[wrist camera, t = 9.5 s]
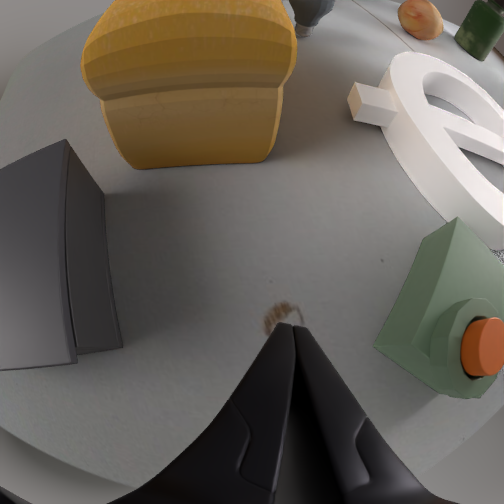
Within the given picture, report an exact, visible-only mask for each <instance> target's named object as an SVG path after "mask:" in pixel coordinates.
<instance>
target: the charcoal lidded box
mask: <svg viewBox="0 0 504 504" xmlns="http://www.w3.org/2000/svg"><path fill="white" fill-rule="evenodd" d="M64 239H65V268H66V282H67V294H68V303H69V312H70V319H71V326H72V332H73V338H74V344H75V350H76V355H82V354H88V353H95V352H101V351H107V350H112V349H118V348H123V344H122V340H121V335H120V330H119V325H118V320H117V315H116V309H115V303H114V297H113V290H112V283H111V276H110V268H109V259H108V250H107V239H106V226H105V209H104V193H103V192H102V191H101V189H100V188H99V186H98V185H97V184H96V182H95V181H94V179H93V178H92V176H91V175H90V174H89V172H88V171H87V169H86V168H85V166H84V165H83V163H82V162H81V160H80V159H79V158H78V156H77V155H76V153H75V152H74V150H73V148H72V147H71V146H70V151H69V160H68V169H67V180H66V195H65V223H64Z"/></svg>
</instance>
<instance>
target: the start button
mask: <svg viewBox="0 0 504 504" xmlns="http://www.w3.org/2000/svg"><path fill="white" fill-rule="evenodd" d="M460 358H461V363H462V366H463V368H464V370H465V371H466V372H467V373H468V374H469V375H472V376H491V375H494V374H496V373H497V372H499V370H500V369H501V368H502V366H503V364H504V323H503V322H502V320H501V319H499V318H497V317H492V318H488V319H483V320H478V321H475V322H473V323H471V324H470V325H469V326H468V327H467V329H466V330H465V332H464V335H463V338H462V341H461V349H460Z"/></svg>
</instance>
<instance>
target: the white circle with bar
mask: <svg viewBox="0 0 504 504" xmlns="http://www.w3.org/2000/svg"><path fill="white" fill-rule="evenodd" d="M425 94H428V95H432V96H436V97H439V98H441V99H443V100H445V101H447V102H449V103H451V104H452V105H454V106H455V107H457V108H458V109H460V110H461V111H462V112H463V113H465V114H466V115H467V116H468V117H469V118H470V119H471V120H472V121H473V122H474V123H473V122H471V121H469V120H466V119H464V118H462V117H460V116H457V115H455V114H453V113H450V112H448V111H445V110H443V109H440V108H438V107H435V106H433V105H430V104H429V103H428V101H427V99H426V96H425ZM347 100H348V103H349V107H350V110H351V113H352V117H353V120H354V121H359V122H364V123H369V124H374V125H378V126H380V127H381V130H382V132H383V134H384V136H385V139H386V141H387V143H388V145H389V146H390V148H391V150H392V152H393V154H394V155H395V157H396V159H397V160H398V162H399V163H400V165H401V166H402V168H403V170H404V171H405V172H406V174H407V175H408V177H409V178H410V179H411V181H412V182H413V183H414V185H415V186H416V187H417V189H418V190H419V191H420V193H421V194H422V195H423V196H424V197H425V199H426V200H427V201H428V202H429V203H430V204H431V205H432V207H433V208H434V209H435V210H436V211H437V212H438V213H439V214H440V215H441V216H442V217H443V218H444V219H445V220H446V221H447V222H450V221H451V220H453V219H454V218H456V217H457V216H458V217H459V218H460V219H461V220H462V221H463V222H464V223H465V224H466V225H467V226H468V227H469V228H470V229H471V230H472V231H473V232H474V233H475V234H476V235H477V236H478V237H479V238H480V239H481V240H482V241H483V242H484V244H485V245H486V246H487V247H488V248H489V249H491V250H504V193H502V192H501V191H500V190H498V189H497V188H496V187H495V186H493V185H492V184H491V183H490V182H489V181H488V180H487V179H486V178H485V177H484V176H483V175H482V174H481V173H480V172H479V171H478V170H477V169H476V168H475V167H474V166H473V164H472V163H471V162H470V161H469V160H468V159H467V158H466V156H465V155H464V154H463V153H462V152H461V150H460V149H459V148H458V147H460V148H463V149H465V150H468V151H471V152H473V153H476V154H478V155H481V156H483V157H486V158H488V159H491V160H493V161H495V162H497V163H500V164H502V165H503V168H504V110H503V109H502V108H501V107H500V106H499V104H498V103H497V102H496V101H495V100H494V99H493V98H492V97H491V96H490V95H489V94H488V93H487V92H486V91H485V90H484V89H483V88H482V87H481V86H479V85H478V84H477V83H476V82H475V81H473V80H472V79H471V78H470V77H468V76H467V75H465V74H464V73H463V72H461V71H460V70H458V69H456V68H455V67H453V66H451V65H450V64H448V63H446V62H444V61H442V60H440V59H438V58H435V57H432V56H430V55H427V54H423V53H418V52H402V53H399V54H397V55H396V56H394V58H393V59H392V61H391V63H390V64H389V66H388V68H387V70H386V72H385V74H384V76H383V78H382V80H381V82H380V83H379V85H378V87H373V86H369V85H365V84H361V83H357V82H354V85H353V87H352V89H351V91H350V93H349V96H348V98H347Z"/></svg>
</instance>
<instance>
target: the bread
mask: <svg viewBox="0 0 504 504" xmlns="http://www.w3.org/2000/svg"><path fill="white" fill-rule="evenodd" d="M296 59H297V40H296V35H295V30H294V27H293V25H292V23H291V21H290V18H289V16H288V14H287V12H286V10H285V8H284V6H283V4H282V2H281V0H115V1H114V2H113V3H112V4H111V5H110V7H109V8H108V9H107V10H106V11H105V13H104V14H103V15H102V17H101V18H100V20H99V21H98V23H97V24H96V26H95V27H94V29H93V30H92V32H91V34H90V35H89V37H88V39H87V41H86V44H85V46H84V49H83V53H82V58H81V65H80V66H81V72H82V76H83V80H84V82H85V83H86V85H87V87H88V89H89V90H90V91H91V92H92V93H93V94H94V95H95V96H97V97H98V98H99V99H100V104H101V111H102V114H103V117H104V120H105V123H106V125H107V128H108V131H109V133H110V135H111V138H112V140H113V142H114V144H115V146H116V148H117V150H118V152H119V153H120V155H121V156H122V157H123V158H124V159H125V160H126V161H127V162H128V163H129V164H130V165H131V166H132V167H133V168H135V169H150V168H161V167H174V166H188V165H205V164H230V163H258V162H261V161H264V159H265V158H266V157H267V156H268V154H269V153H270V152H271V150H272V148H273V146H274V143H275V139H276V136H277V131H278V127H279V122H280V116H281V110H282V102H283V85H284V84H285V82H286V81H287V80H288V79H289V77H290V75H291V74H292V72H293V69H294V66H295V64H296Z"/></svg>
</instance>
